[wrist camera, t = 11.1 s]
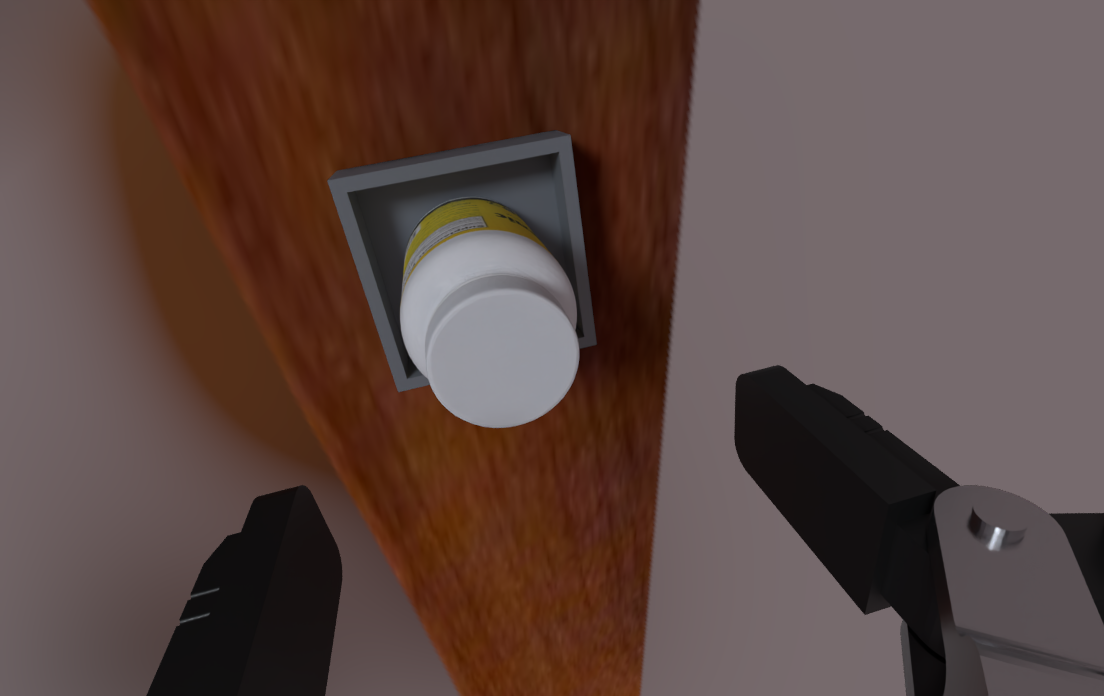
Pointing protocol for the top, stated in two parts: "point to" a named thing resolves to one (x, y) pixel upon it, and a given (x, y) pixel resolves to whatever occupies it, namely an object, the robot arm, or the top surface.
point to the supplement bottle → (488, 314)
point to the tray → (429, 180)
